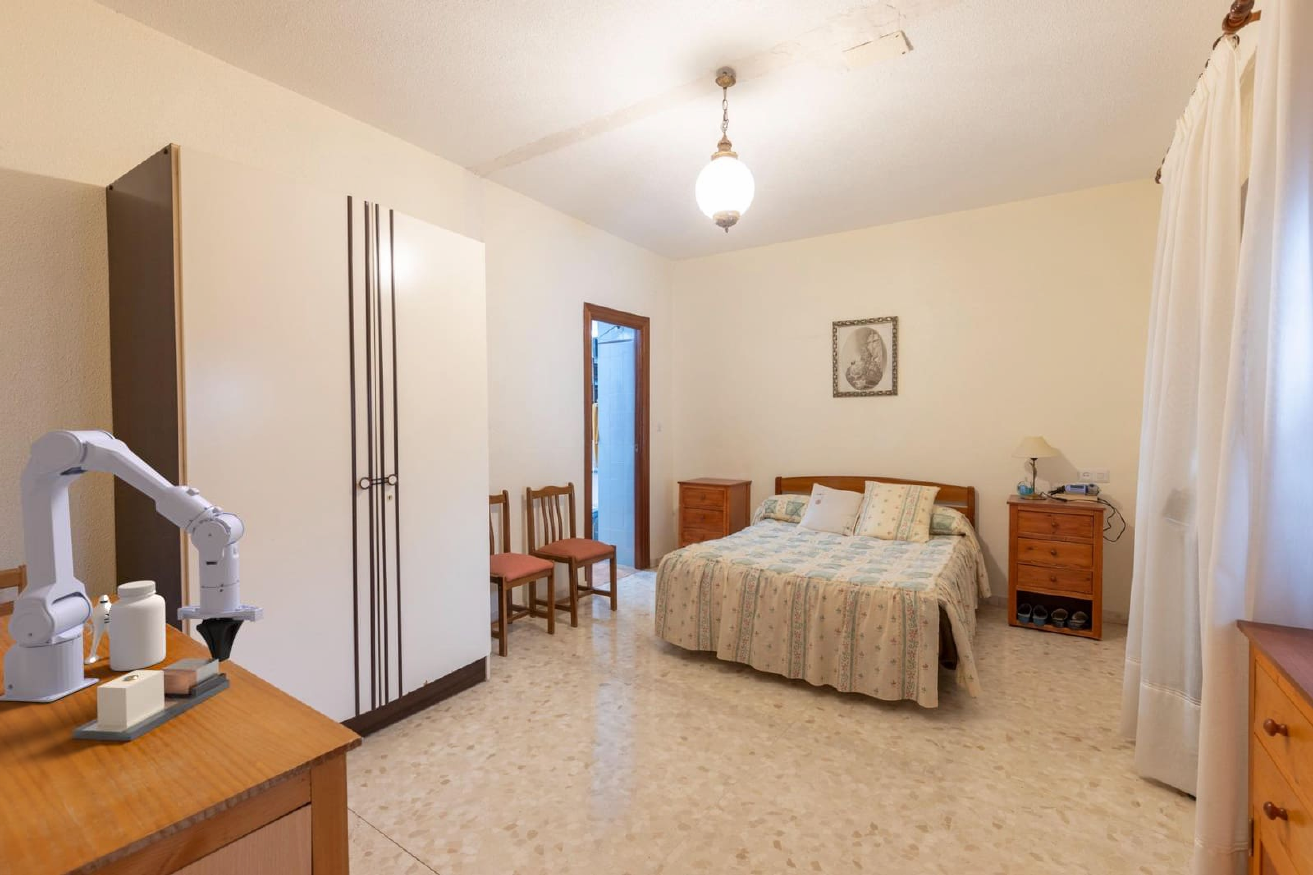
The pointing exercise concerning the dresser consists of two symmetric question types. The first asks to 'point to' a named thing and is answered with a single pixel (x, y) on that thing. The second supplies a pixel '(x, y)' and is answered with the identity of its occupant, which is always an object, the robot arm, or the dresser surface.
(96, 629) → the figurine
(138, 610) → the pill bottle
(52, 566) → the robot arm
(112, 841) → the dresser surface
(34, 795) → the dresser surface
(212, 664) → the block
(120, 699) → the block
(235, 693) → the dresser surface
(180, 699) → the base plate
